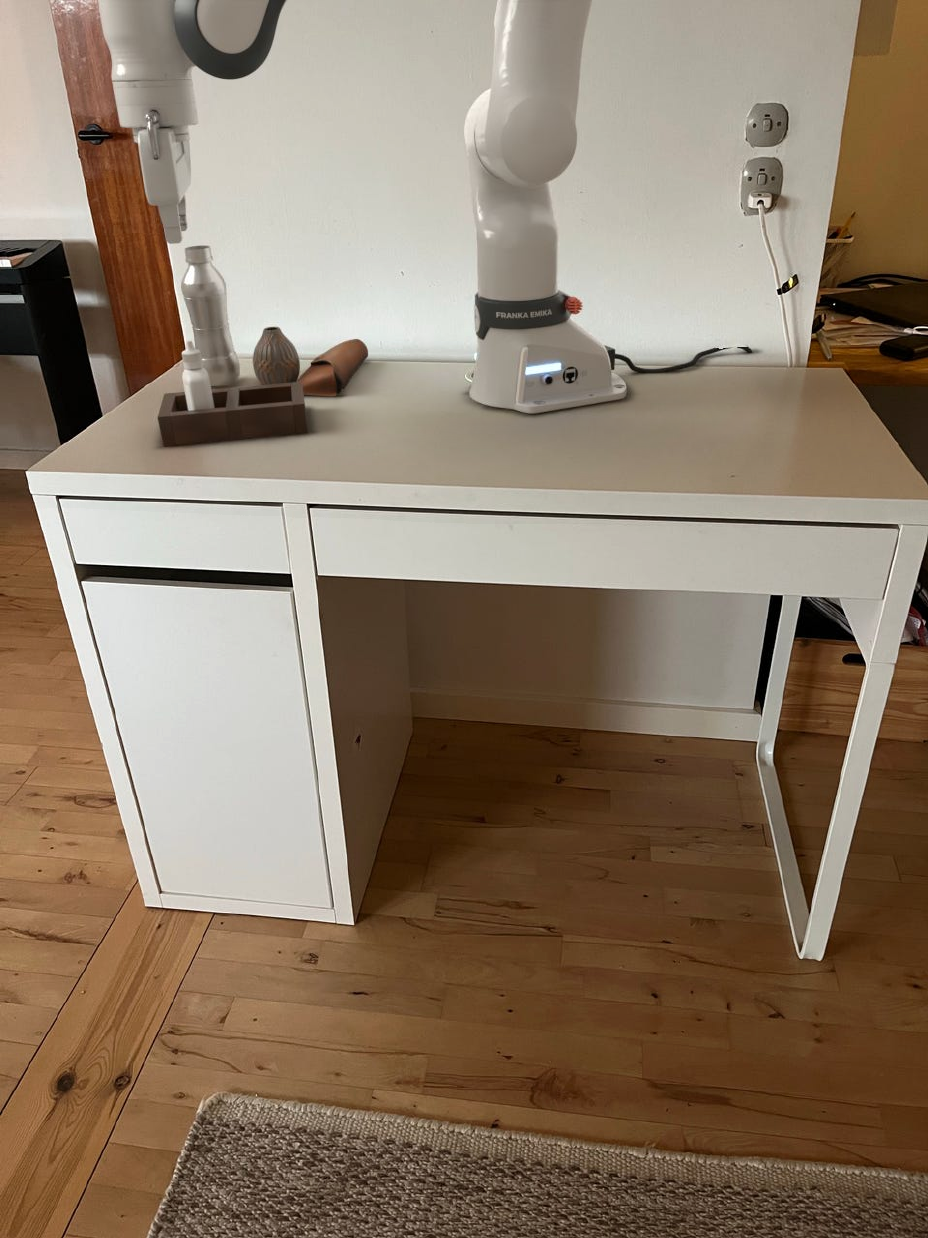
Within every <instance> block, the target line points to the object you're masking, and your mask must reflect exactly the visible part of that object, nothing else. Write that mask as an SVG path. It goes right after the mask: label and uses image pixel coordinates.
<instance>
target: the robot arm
mask: <svg viewBox="0 0 928 1238" xmlns="http://www.w3.org/2000/svg"><path fill="white" fill-rule="evenodd" d="M287 2H288V0H97V3H98V10H99V17H100V23H101V29H102V34H103V38H104V41H105V43H106V44H107V47H108V49H109V53H110V57H111V73H110V74H111V83H112V88H113V89H112V90H113V94H114V99H115V104H116V110H117V116H118V122H119V125H120V128H126V129H131V131H132V135H133V141H134V143H135V144H137V145H138V146H137V147H138V154H139V160H140V161H139V162H140V169H141V174H142V179H143V187H144V192H145V197H146V200H147V202H148V204H149V205H150V206H154V207H155V206H157V208H158V209H157V210H158V214H159V218H160V220H161V223H162V227H163V230H164V237H165V241H166V243H168V244H170V245H171V244H181V243H182V241H183V232H185V231H187V230H188V227H189V224H188V217H187V201H186V200H187V199H186V193H187V192H188V190H189V188H190V187H191V183H192V165H191V148H190V140H191V137H190V129H189V126H194V125H198V124H199V118H198V111H197V104H196V97H195V90H194V83H193V78H192V77H193V76H192V71H193V69H194V68H196V67H197V68H198V69H199V70H201V71H202V72H204V73H205V74H207V75H209V76H210V77H211V76H212V77H213V78H217V79H221V80H228V81H229V80H231V81H232V80H239V79H243V78H245V77H248V76H250V75H251V74H253V73H255V72H256V71H257V70H258V69H259V68H260V67H261V66H262V65H263V64H264V63H265V62H266V60H267V58H268V56H269V54H270V51H271V49H272V46H273V43H274V39H275V36H276V35H275V34H276V31H277V28H278V27H277V26H278V23H279V18H280V16H281V13H282V10H283V8H284V7H285V5H286V3H287ZM592 3H593V0H497V2H496V8H495V13H494V20H493V26H494V27H493V28H494V42H493V43H494V44H493V59H492V60H493V62H492V74H491V75H492V76H491V84H490V88H488V89H487V90H485V91H483V92H482V93H481V94H480V95H479V96H478V97H477V98H476V99H475V100H474V102H473V103H472V105H471V106H470V108H469V110H468V111H467V113H466V116H465V121H464V127H463V128H464V129H463V131H464V133H463V134H464V143H465V148H466V149H465V151H466V152H465V153H466V163H467V173H468V182H469V191H470V198H471V207H472V213H473V220H474V229H475V242H476V245H475V246H476V277H477V279H476V280H477V292H476V293H475V294H474V306H473V315H474V317H473V318H474V322H473V323H474V332H475V335H476V337H477V339H476V341H477V342H476V352H475V353H474V360H475V363H474V369H473V376H472V380H471V385H470V388H469V392H468V395H469V397H470V399H472V400H473V401H474V402H476V403H479V404H480V405H485V406H489V407H493V408H500V409H509V410H514V411H516V412H520V413H525V414H531V415H532V414H540V413H544V412H546V413H547V412H552V411H557V410H563V409H564V410H565V409H571V408H576V407H582V406H588V405H594V404H600V403H606V402H612V401H618V400H622V399H624V398H625V397H626V396H627V394H628V391H627V389H628V388H627V384H626V382H625V381H624V379H622V377H621V376H619V375H618V374H617V373H616V372H613V371H614V370H615V365H616V363H615V362H616V360H619V361H623V362H624V363H626V365H627V367H628V368H629V370H631V371H633V372H635V373H640V374H667V373H671V372H676V371H680V370H684V369H688V368H691V367H693V366H695V365H696V364H697V363H698V361H699V360H700V359H701V358H703V357H705V356H708V355H712V354H714V353H718V352H720V351H724V350H728V349H730V348H723V349H719V348H715V347H713V348H709V349H706V350H703V351H700V352H698V353H696V355H694V357H693V358H692V360H690V361H688V362H686V363H681V364H677V365H673V366H668V367H661V368H644V367H640V366H636V365H635V364H634V363H633V361H632V359H631V358H630V357H628V356H626V355H624V354H620V353H616V349H615V348H614V347H611V346H608V345H605V344H604V343H603V342H602V341H601V340H600V339H598V337H596V336H595V335H593V334H592V333H591V332H590V331H589V330H587V329H586V328H585V327H584V326H582V325H581V324H579V323H578V322H577V321H575V320H574V319H573V318H572V317H571V316H572V315H578V314H580V313H581V311H582V310H583V302H582V301H581V300H580V299H579V298H578V297H576V296H571V295H570V294H568V293H566V292H564V291H562V290H560V289H559V270H560V269H559V265H560V262H559V261H560V257H559V256H560V230H559V225H558V221H557V218H556V214H555V213H556V212H555V207H554V201H553V194H552V193H553V192H552V186H551V185H552V184H551V182H552V181H554V180H555V179H557V178H559V177H560V176H562V175H563V173H564V172H565V171H566V170H567V169H568V168H569V165H570V164H571V163H572V161H573V159H574V157H575V154H576V150H577V146H578V145H577V144H578V130H577V124H576V117H577V109H578V102H579V90H580V77H581V64H582V54H583V46H584V38H585V34H586V29H587V25H588V20H589V15H590V11H591V7H592ZM746 346H747V345H746ZM736 349H741V350H742V351H744V352H745V353H747V354H752V353H754V352H753V350H752V349H751V348H750V347H749V346H747V347H737V348H736Z"/></svg>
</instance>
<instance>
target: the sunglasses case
mask: <svg viewBox="0 0 928 1238" xmlns="http://www.w3.org/2000/svg"><path fill="white" fill-rule="evenodd" d="M368 357H369V350H368V347H367V345H366V344H365V342H364V341H362V340H361V339H359V338H353V339H348V340H345V341H342V342H340V343H338V344H335V345H334V346H332V347H331V348H329V349H328V350H326V351H325V352H323V353H321V354H319V355H318V356H316V357H315V358H314V359H313V360H312V361H311V362H310V366H309V367H308V368H307V369H305V371H303V373H302V374H301V375H300V376H299V377H298V379H297V381H296V382H302V386H303V394H304V396H308V397H327V398H329V397H332V398H333V397H337V396H339V395H341V393H342V392H343V391H344V390H345V389H346V387H347V386H348V384H349V382H350V381H351V379H352V378H353V376H354V374H355V373H356V372H357V371H358V369H360V367H361V366H362V364H363V363H364V362H365V361H366V360H367V358H368Z"/></svg>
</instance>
